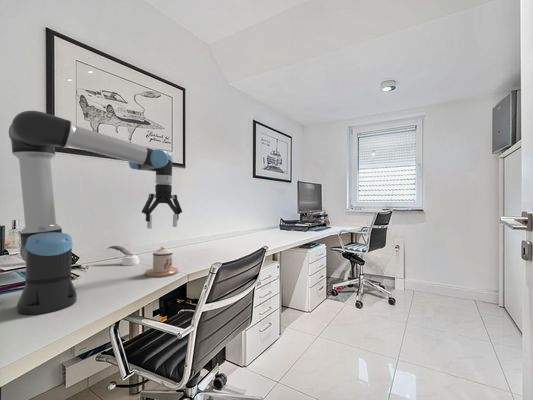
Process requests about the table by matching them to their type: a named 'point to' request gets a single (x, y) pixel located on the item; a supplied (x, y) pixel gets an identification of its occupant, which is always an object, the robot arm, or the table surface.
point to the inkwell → (127, 256)
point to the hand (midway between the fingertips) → (162, 227)
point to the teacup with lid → (162, 260)
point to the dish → (153, 274)
